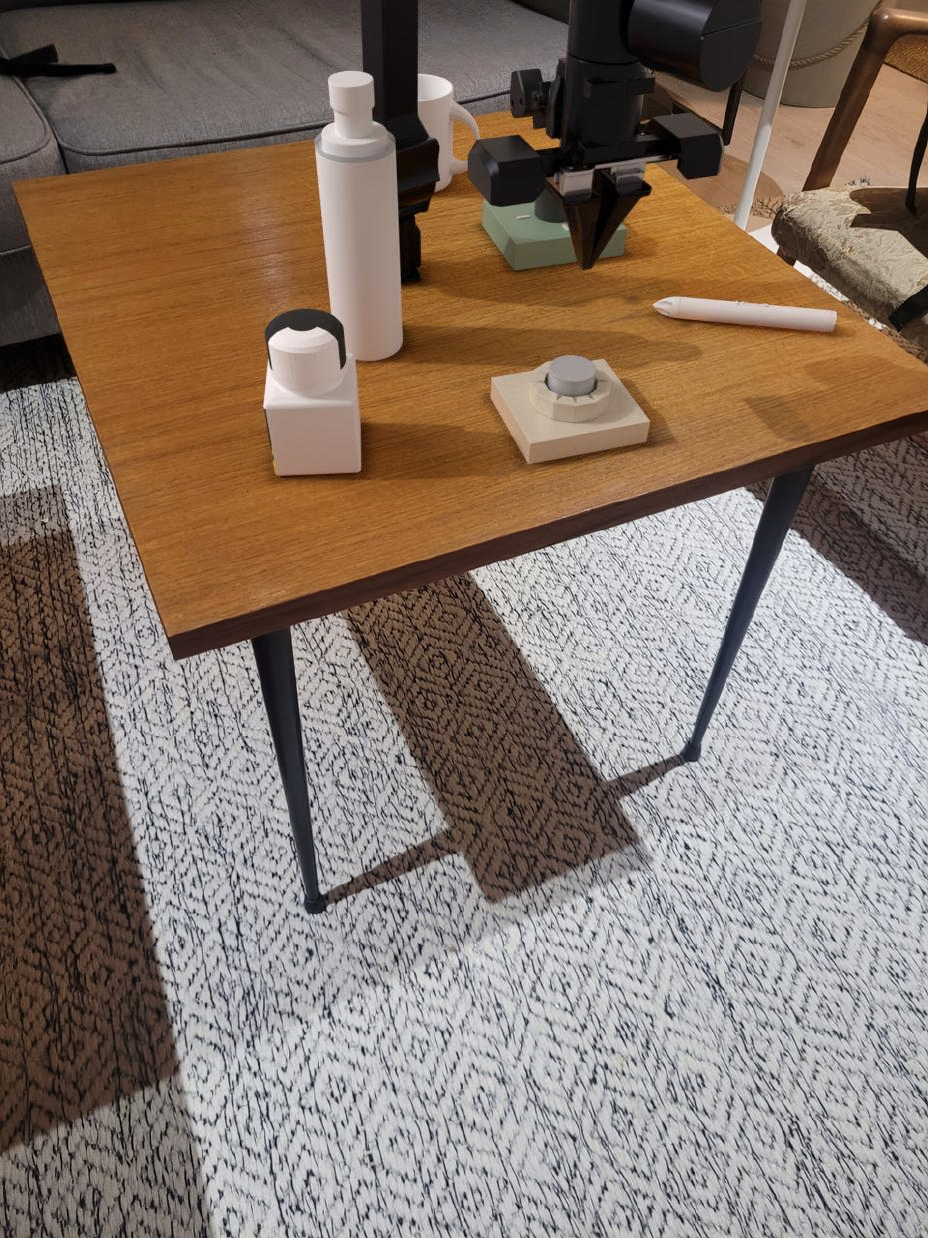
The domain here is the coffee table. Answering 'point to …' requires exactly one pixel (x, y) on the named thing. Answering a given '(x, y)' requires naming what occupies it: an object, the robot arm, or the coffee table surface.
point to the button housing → (567, 414)
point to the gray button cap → (571, 376)
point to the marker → (748, 313)
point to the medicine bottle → (311, 395)
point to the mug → (442, 123)
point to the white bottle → (360, 219)
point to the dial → (549, 208)
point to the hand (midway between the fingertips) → (584, 267)
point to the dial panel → (536, 237)
